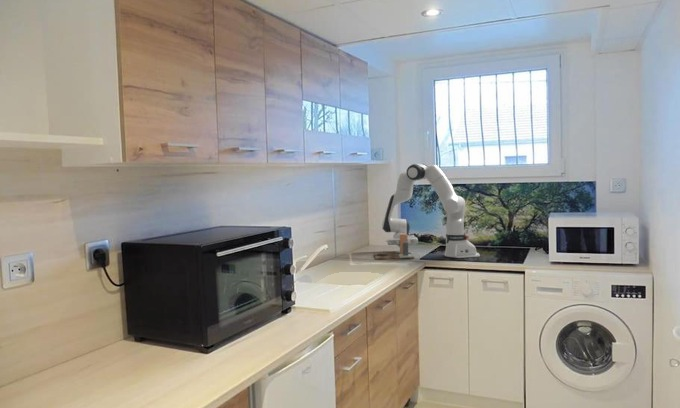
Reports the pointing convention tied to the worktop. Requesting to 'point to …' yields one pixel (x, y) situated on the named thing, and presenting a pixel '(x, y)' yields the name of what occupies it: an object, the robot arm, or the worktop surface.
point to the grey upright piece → (405, 251)
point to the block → (402, 239)
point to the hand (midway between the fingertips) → (403, 243)
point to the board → (390, 256)
